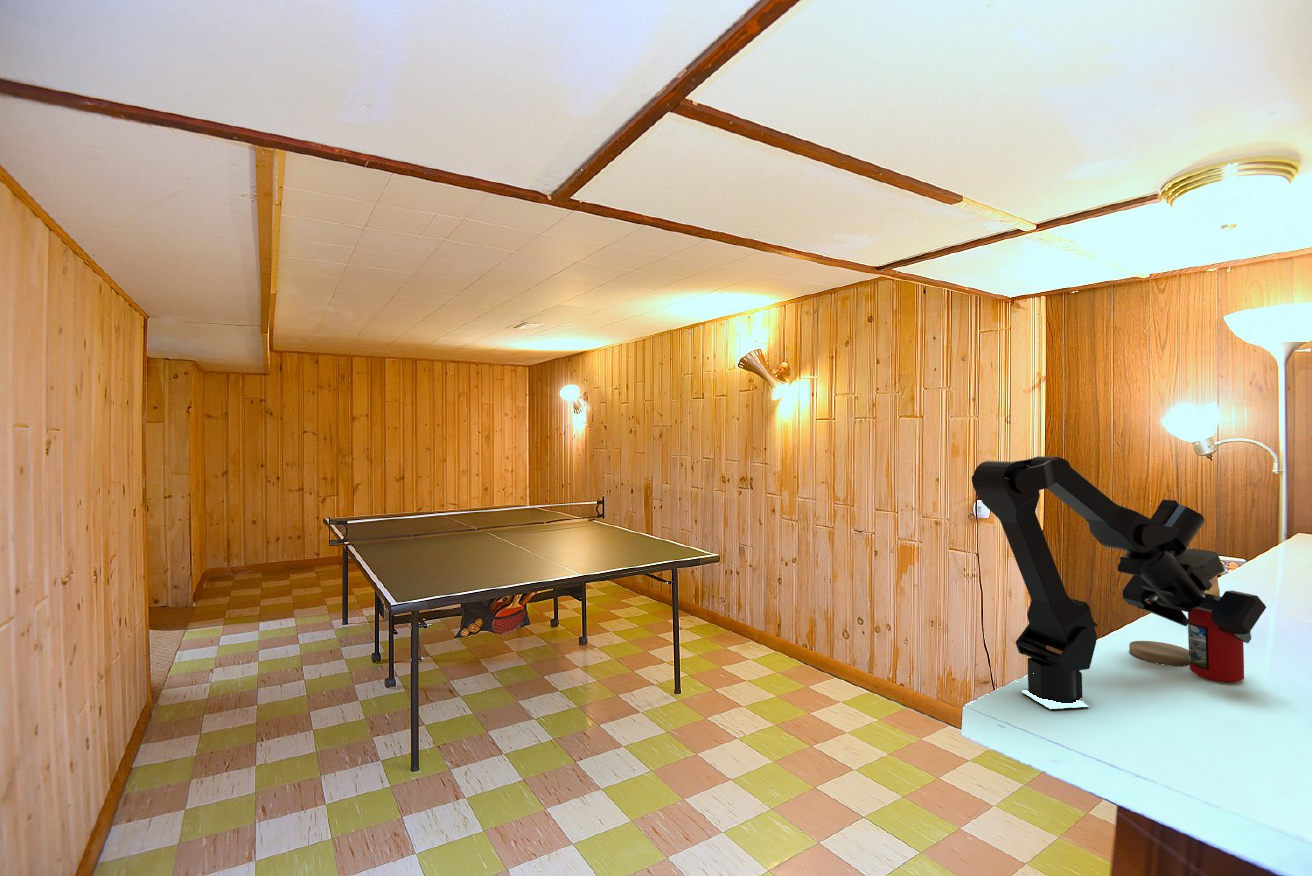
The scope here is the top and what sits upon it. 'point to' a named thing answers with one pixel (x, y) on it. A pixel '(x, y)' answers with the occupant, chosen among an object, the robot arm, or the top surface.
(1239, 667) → the beverage can
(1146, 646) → the coaster
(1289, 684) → the top surface
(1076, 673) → the robot arm
